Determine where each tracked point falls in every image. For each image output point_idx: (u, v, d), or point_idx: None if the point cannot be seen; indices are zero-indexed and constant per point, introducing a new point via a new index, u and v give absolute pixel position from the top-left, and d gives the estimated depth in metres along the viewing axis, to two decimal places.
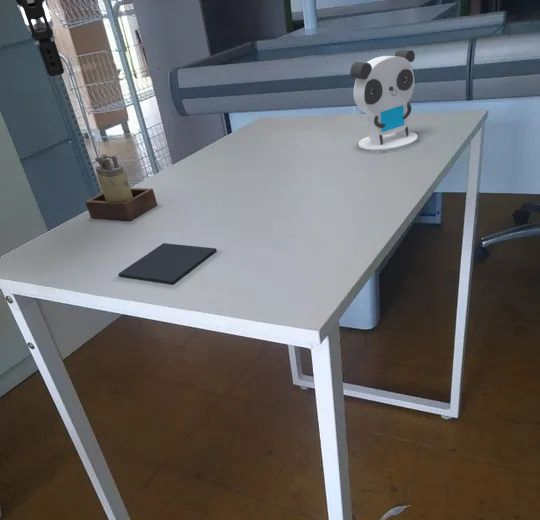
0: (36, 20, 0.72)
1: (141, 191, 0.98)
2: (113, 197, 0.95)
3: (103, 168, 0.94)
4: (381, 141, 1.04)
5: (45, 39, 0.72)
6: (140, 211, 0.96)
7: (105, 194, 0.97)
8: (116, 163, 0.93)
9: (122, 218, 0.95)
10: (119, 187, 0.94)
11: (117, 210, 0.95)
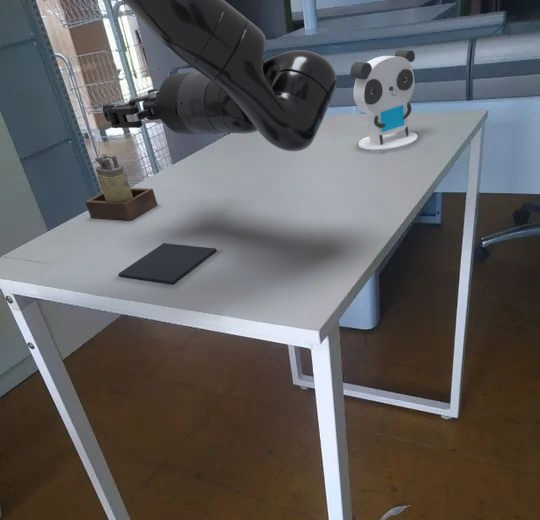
0: None
1: (141, 191, 0.98)
2: (113, 197, 0.95)
3: (103, 168, 0.94)
4: (381, 141, 1.04)
5: None
6: (140, 211, 0.96)
7: (105, 194, 0.97)
8: (116, 163, 0.93)
9: (122, 218, 0.95)
10: (119, 187, 0.94)
11: (117, 210, 0.95)
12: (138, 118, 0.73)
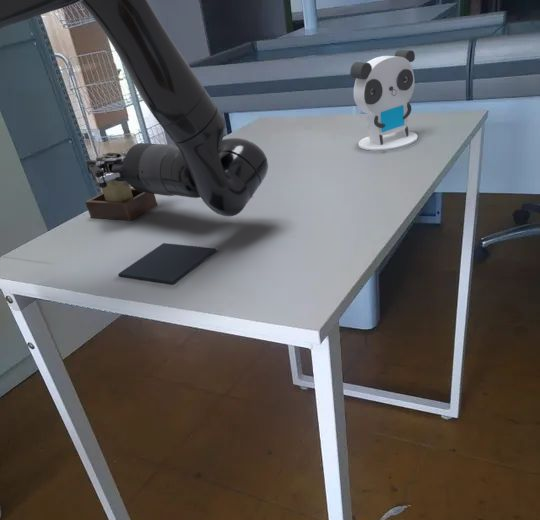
0: None
1: None
2: (113, 197, 0.95)
3: None
4: (381, 141, 1.04)
5: None
6: (140, 211, 0.96)
7: (105, 194, 0.97)
8: None
9: (122, 218, 0.95)
10: (120, 187, 0.94)
11: (117, 210, 0.95)
12: (101, 180, 0.87)
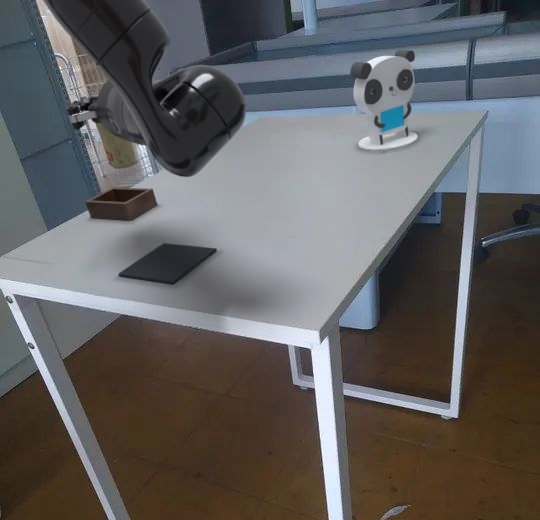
0: None
1: (141, 191, 0.98)
2: (107, 144, 0.78)
3: None
4: (381, 141, 1.04)
5: None
6: (140, 211, 0.96)
7: (102, 141, 0.80)
8: None
9: (122, 218, 0.95)
10: None
11: (117, 210, 0.95)
12: (73, 120, 0.69)
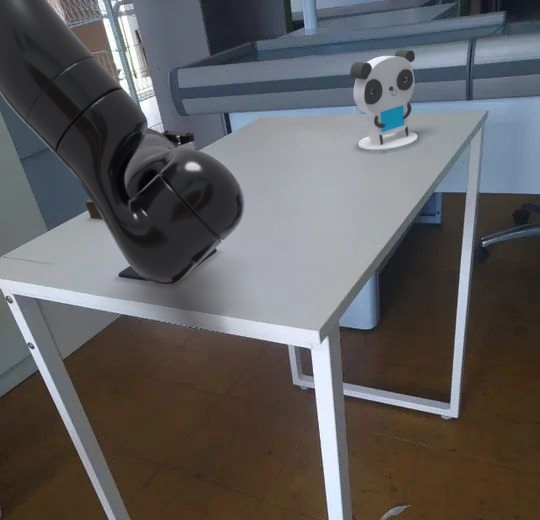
0: None
1: None
2: None
3: None
4: (381, 141, 1.04)
5: None
6: None
7: None
8: None
9: None
10: None
11: None
12: None
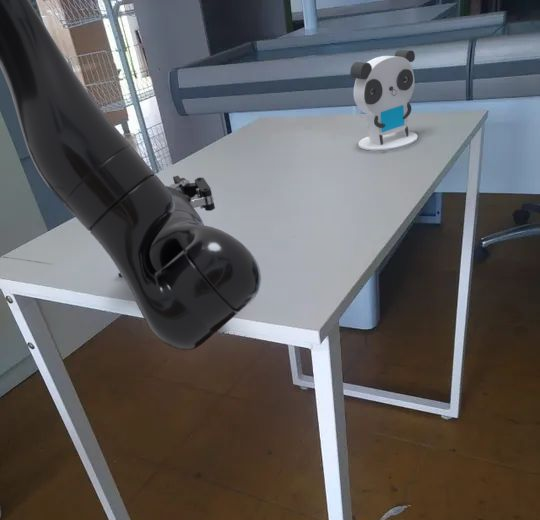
0: None
1: None
2: None
3: None
4: (381, 141, 1.04)
5: None
6: None
7: None
8: None
9: None
10: None
11: None
12: None
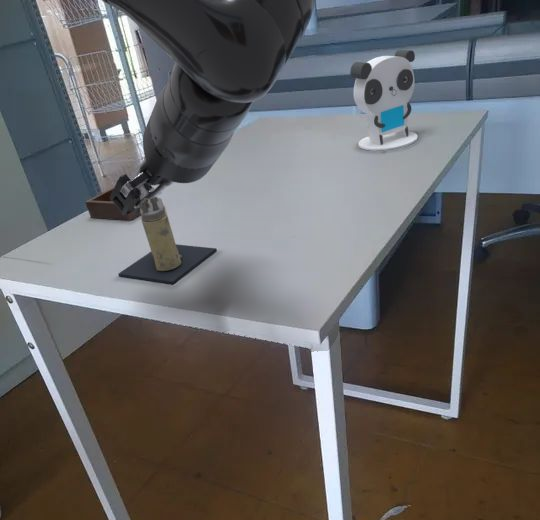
0: None
1: None
2: (149, 245, 0.73)
3: (142, 207, 0.71)
4: (381, 141, 1.04)
5: None
6: None
7: None
8: (154, 205, 0.70)
9: (122, 218, 0.95)
10: (154, 236, 0.71)
11: (117, 210, 0.95)
12: (131, 186, 0.56)
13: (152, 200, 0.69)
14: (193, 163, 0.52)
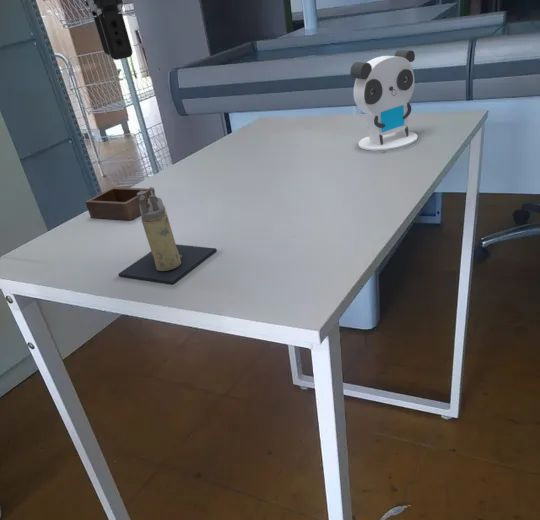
0: None
1: None
2: (149, 245, 0.73)
3: (142, 207, 0.71)
4: (381, 141, 1.04)
5: (111, 7, 0.51)
6: None
7: None
8: (154, 205, 0.70)
9: (122, 218, 0.95)
10: (154, 236, 0.71)
11: (117, 210, 0.95)
12: None
13: (152, 200, 0.69)
14: None
